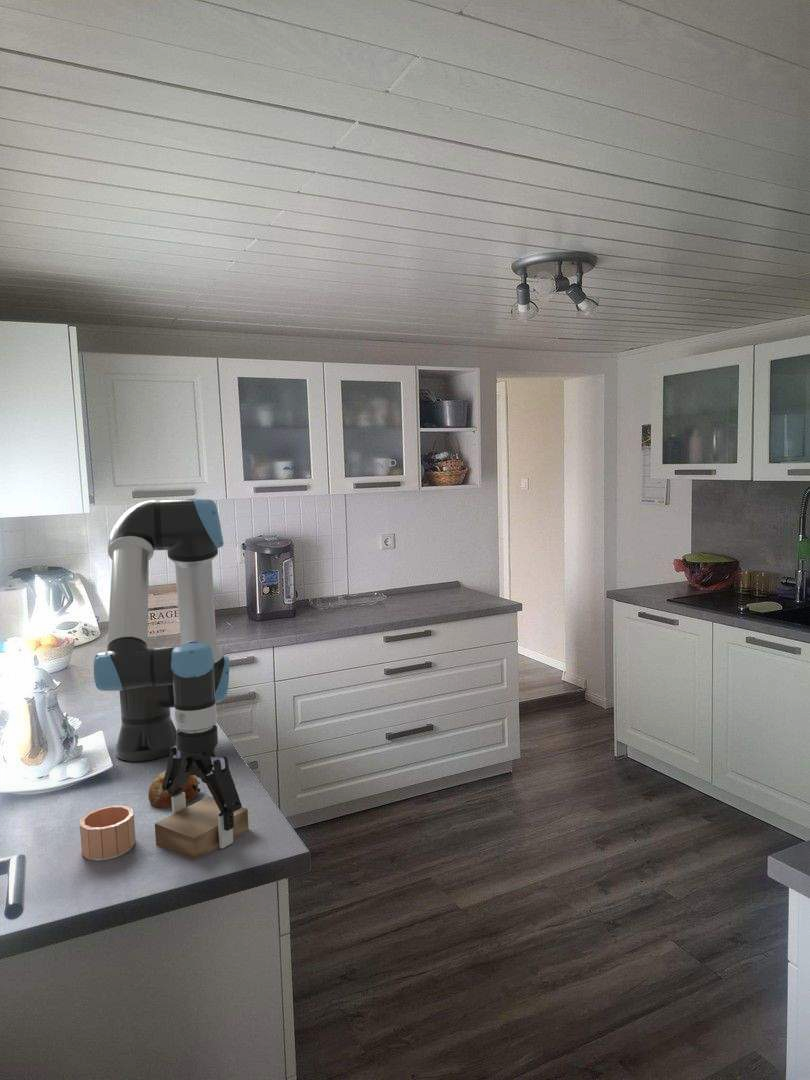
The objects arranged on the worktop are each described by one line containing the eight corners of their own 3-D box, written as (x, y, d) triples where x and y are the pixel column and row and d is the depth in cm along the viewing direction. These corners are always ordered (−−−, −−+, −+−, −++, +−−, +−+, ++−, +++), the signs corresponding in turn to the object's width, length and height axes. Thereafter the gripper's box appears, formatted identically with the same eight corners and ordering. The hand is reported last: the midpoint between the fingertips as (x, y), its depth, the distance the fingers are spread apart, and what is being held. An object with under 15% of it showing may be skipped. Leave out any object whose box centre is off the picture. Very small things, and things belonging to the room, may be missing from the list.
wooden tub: (116, 830, 139) (114, 801, 139) (145, 843, 134) (143, 812, 134) (71, 852, 132) (69, 821, 131) (101, 866, 127) (98, 834, 126)
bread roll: (169, 803, 159) (152, 772, 158) (209, 783, 158) (192, 752, 158) (152, 825, 149) (134, 792, 148) (195, 804, 148) (176, 771, 148)
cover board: (210, 817, 145) (208, 796, 144) (248, 831, 139) (247, 809, 138) (156, 846, 134) (154, 823, 133) (195, 862, 128) (194, 838, 127)
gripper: (138, 721, 138) (145, 827, 140) (225, 745, 124) (232, 863, 126) (170, 710, 144) (177, 812, 146) (257, 732, 130) (263, 844, 132)
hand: (202, 835), depth 136 cm, fingers open, 12 cm apart
